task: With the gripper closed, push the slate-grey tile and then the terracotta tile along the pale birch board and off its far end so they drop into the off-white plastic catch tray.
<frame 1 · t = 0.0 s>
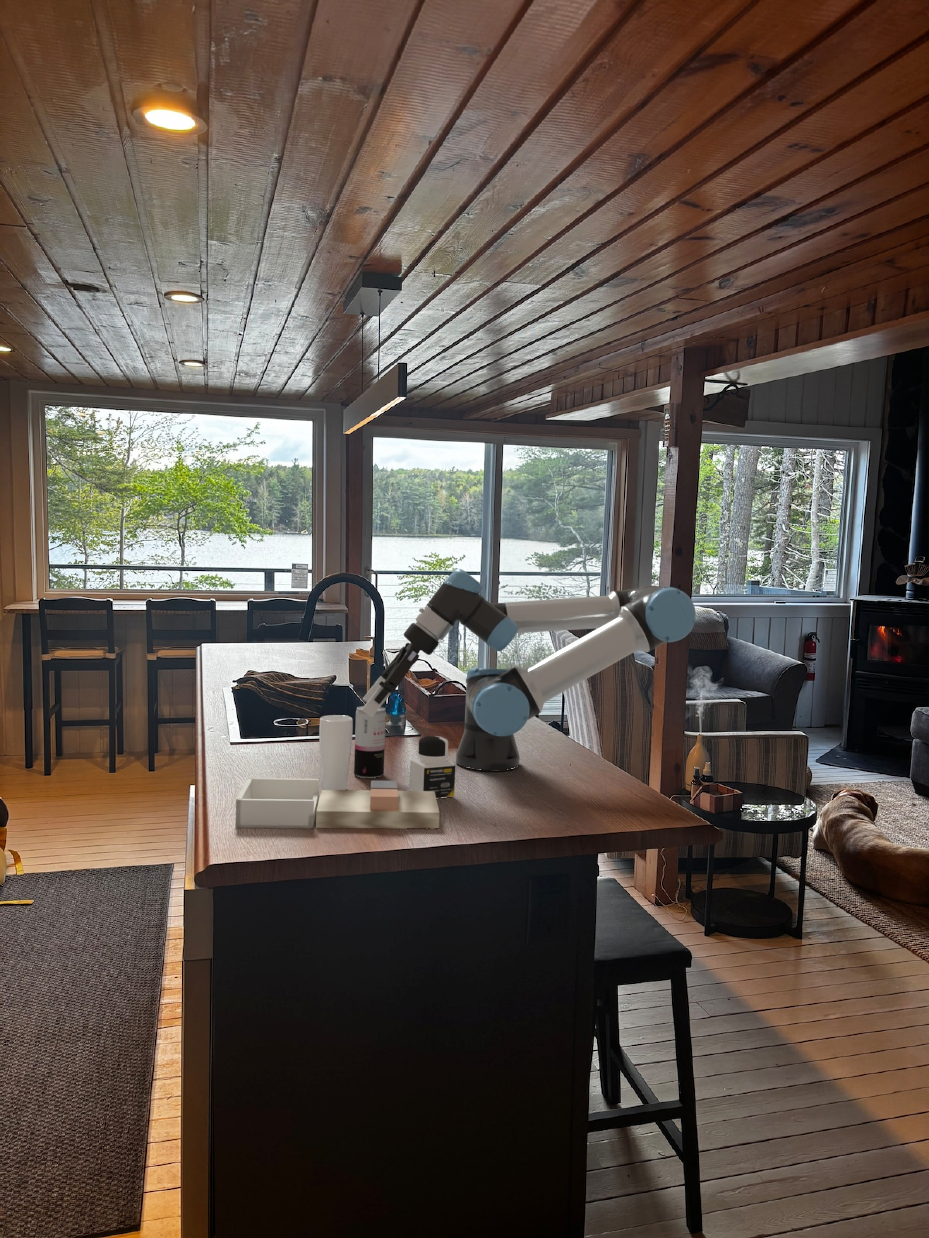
hand: (367, 707, 191), 15 cm above the table, tool tilted 35°, fingers open, 13 cm apart
terracotta tile: (383, 806, 161), point 3 cm above the table, touching board
beverage can: (368, 776, 194), on the table
board: (377, 816, 164), on the table
white cylinder: (334, 790, 181), on the table
medicine bottle: (431, 795, 180), on the table
slate tile: (383, 796, 167), point 3 cm above the table, touching board
catch tray: (279, 815, 162), on the table
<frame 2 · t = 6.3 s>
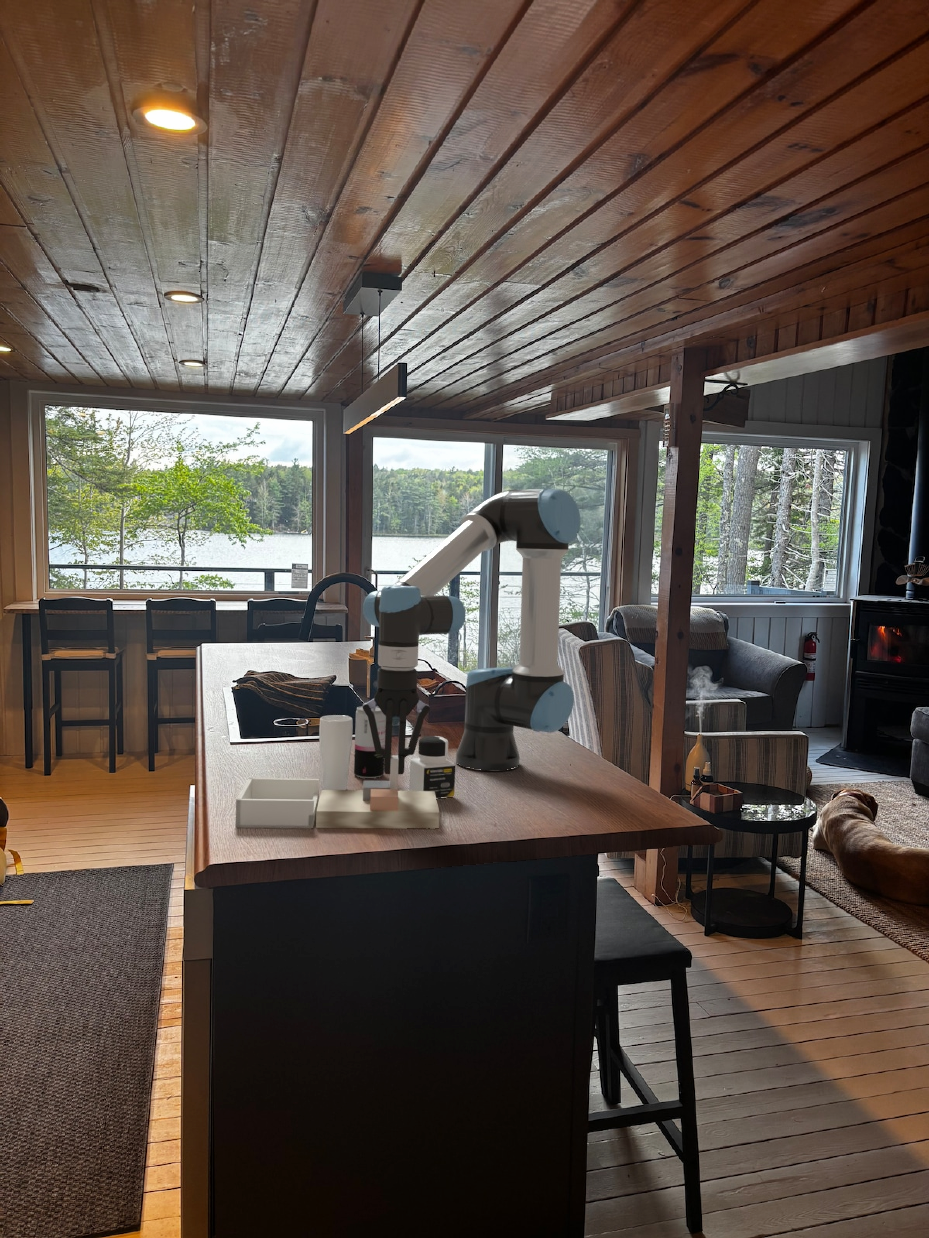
hand: (393, 790, 167), 4 cm above the table, tool pointing down, fingers closed
slate tile: (376, 796, 166), point 3 cm above the table, touching gripper
everything else where it was.
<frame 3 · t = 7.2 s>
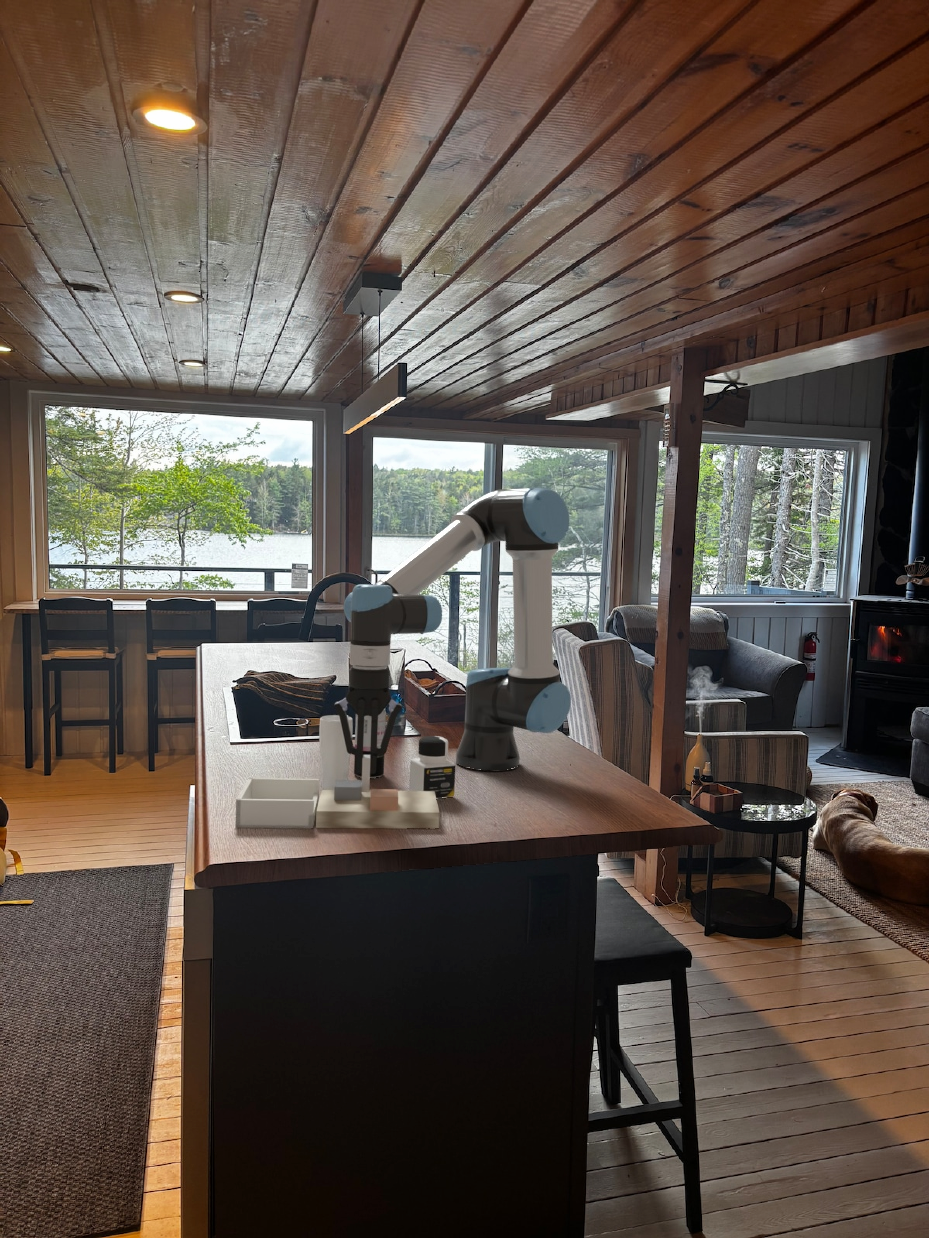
hand: (365, 789, 166), 4 cm above the table, tool pointing down, fingers closed
slate tile: (348, 796, 166), point 3 cm above the table, touching gripper
everything else where it was.
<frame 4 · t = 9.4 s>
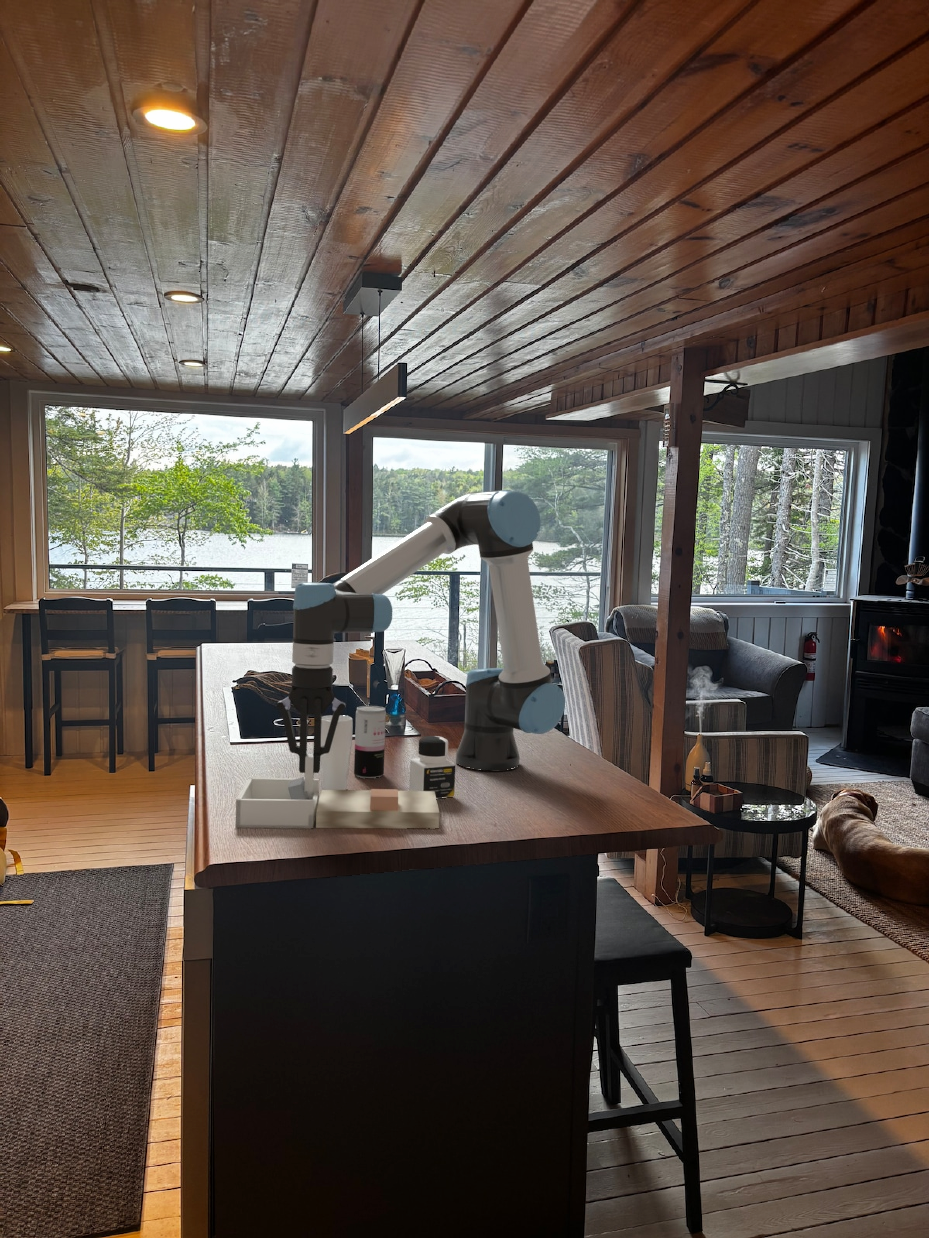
hand: (308, 789, 165), 4 cm above the table, tool pointing down, fingers closed
slate tile: (305, 793, 165), point 4 cm above the table, tilted 106°, touching catch tray, gripper
everything else where it was.
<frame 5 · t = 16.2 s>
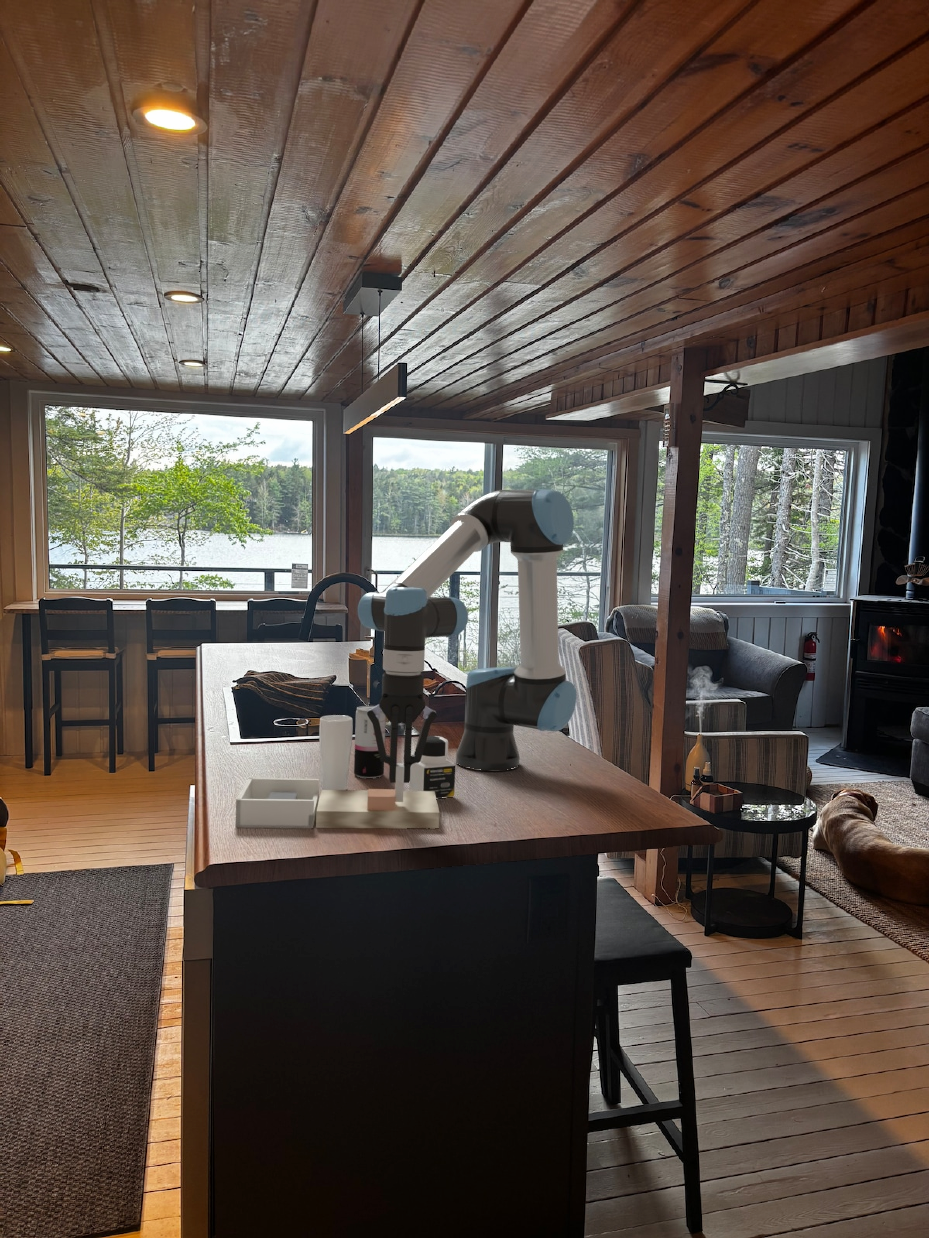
hand: (398, 799, 161), 4 cm above the table, tool pointing down, fingers closed
terracotta tile: (381, 806, 161), point 3 cm above the table, touching gripper
slate tile: (282, 795, 165), point 3 cm above the table, tilted 180°, touching catch tray
everything else where it was.
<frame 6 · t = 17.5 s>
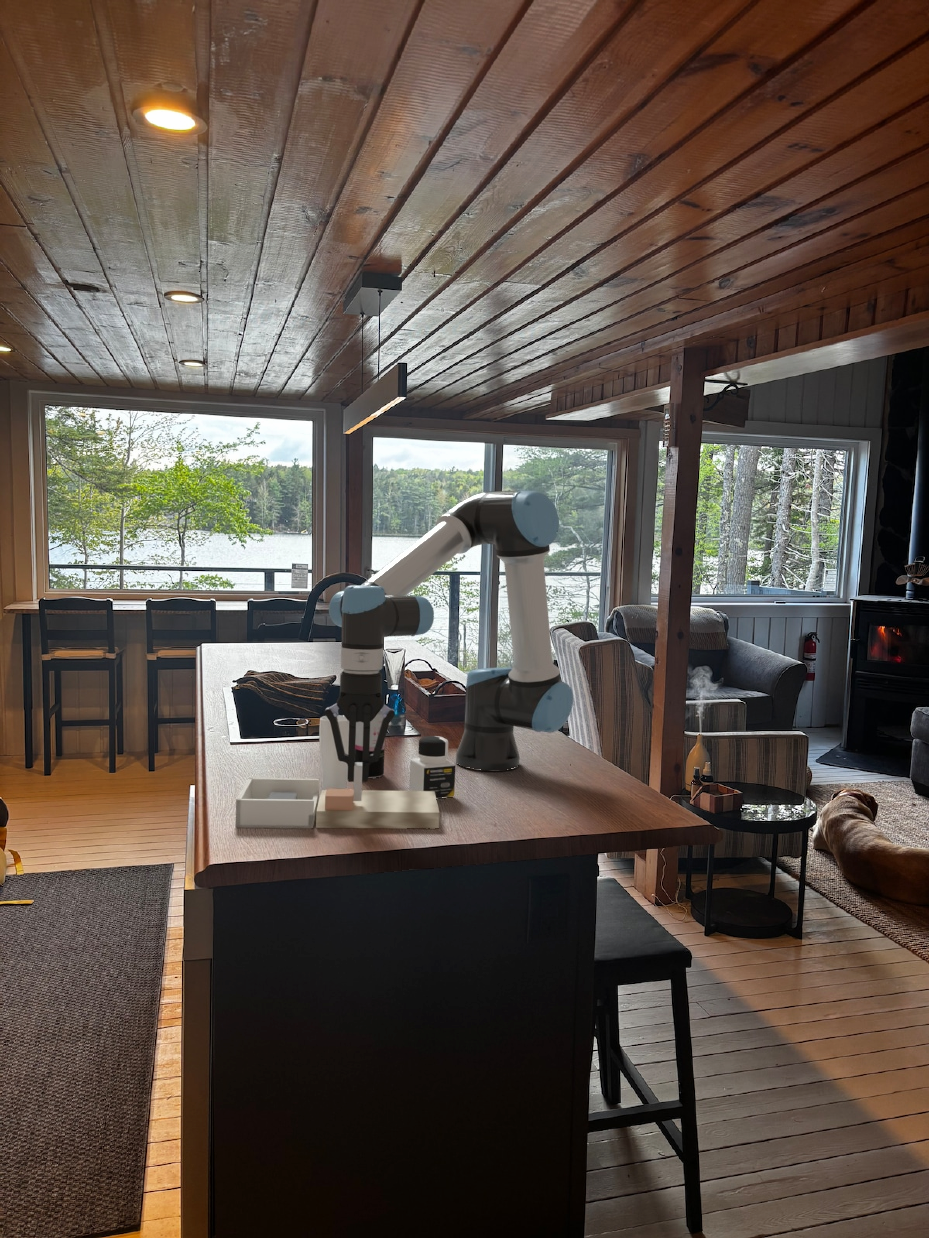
hand: (357, 798, 160), 4 cm above the table, tool pointing down, fingers closed
terracotta tile: (339, 805, 160), point 3 cm above the table, touching gripper
everything else where it was.
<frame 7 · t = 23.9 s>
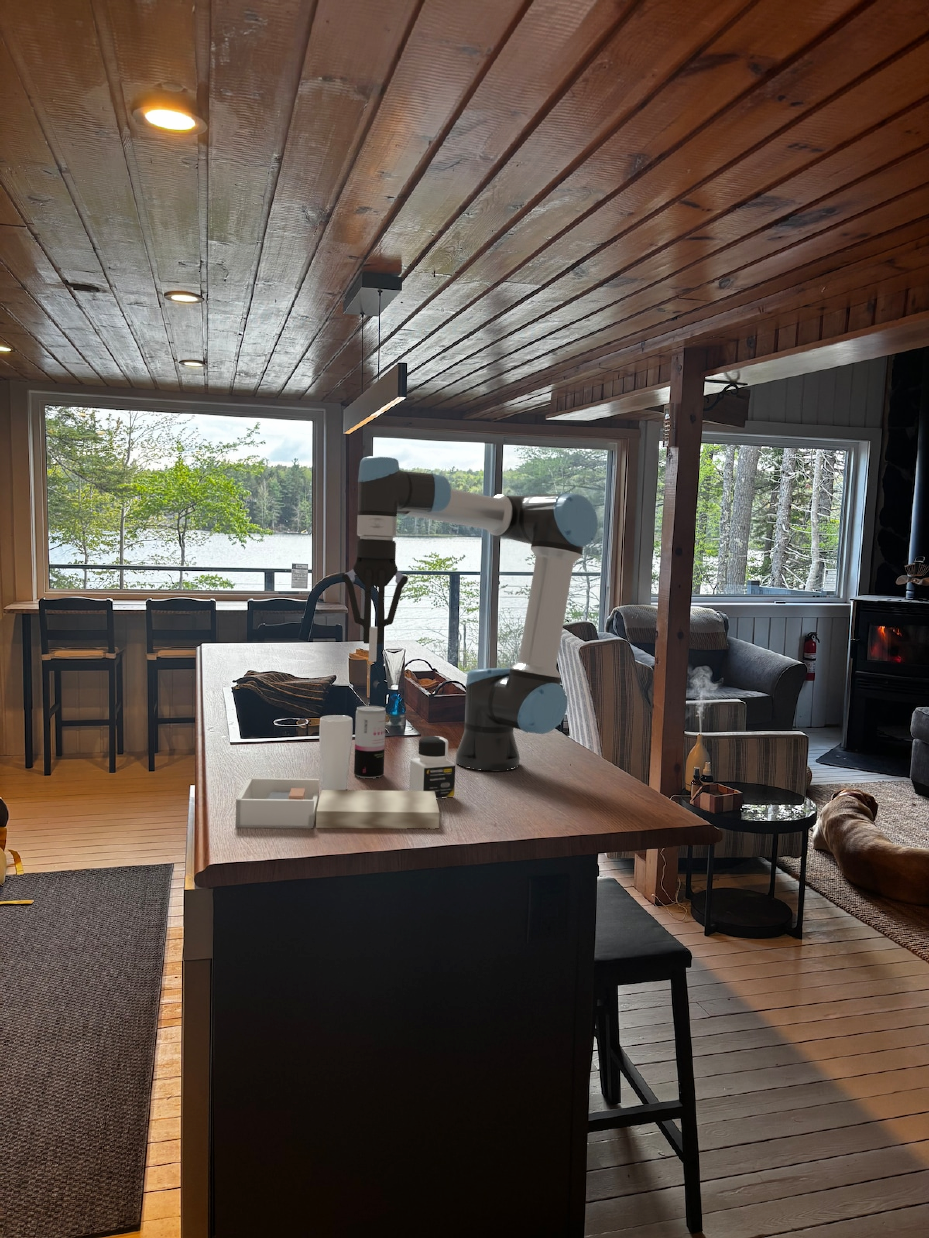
hand: (372, 660, 170), 28 cm above the table, tool pointing down, fingers closed
terracotta tile: (303, 805, 159), point 3 cm above the table, tilted 90°, touching catch tray
everything else where it was.
at the end: slate tile inside the target area (2.5 cm from its centre), point 3.0 cm above the table; terracotta tile inside the target area (6.4 cm from its centre), point 3.0 cm above the table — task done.
